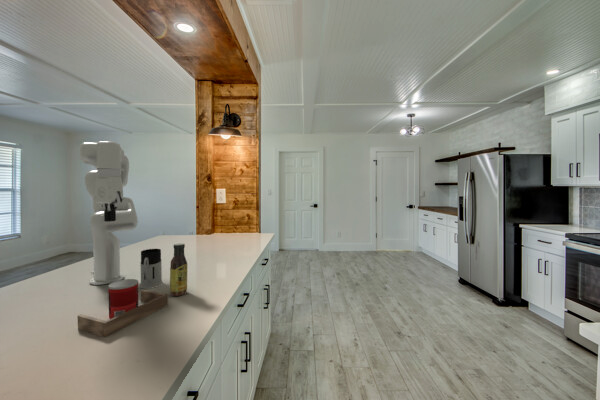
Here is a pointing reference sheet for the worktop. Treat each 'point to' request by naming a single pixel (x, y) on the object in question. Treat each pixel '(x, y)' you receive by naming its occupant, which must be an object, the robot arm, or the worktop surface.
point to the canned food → (122, 296)
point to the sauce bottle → (178, 271)
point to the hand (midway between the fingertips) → (110, 221)
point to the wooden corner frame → (124, 315)
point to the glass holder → (151, 268)
